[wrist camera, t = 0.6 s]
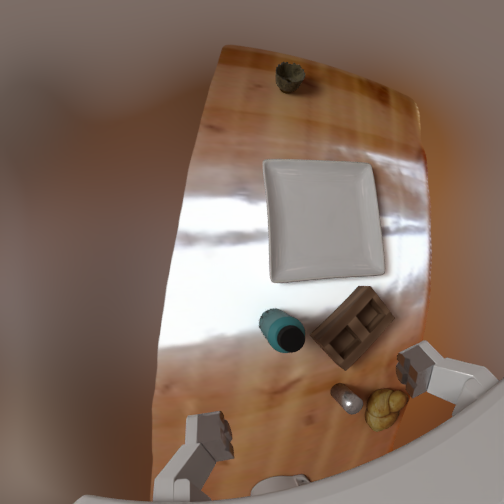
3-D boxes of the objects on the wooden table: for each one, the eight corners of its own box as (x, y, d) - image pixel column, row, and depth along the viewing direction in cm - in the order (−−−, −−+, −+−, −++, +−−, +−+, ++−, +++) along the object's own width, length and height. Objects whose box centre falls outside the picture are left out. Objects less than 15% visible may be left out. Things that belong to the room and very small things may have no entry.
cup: (299, 83, 67) (306, 65, 59) (298, 102, 66) (304, 84, 58) (273, 77, 67) (277, 59, 59) (270, 96, 66) (274, 77, 58)
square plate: (365, 167, 66) (372, 162, 62) (378, 275, 63) (386, 274, 59) (260, 164, 64) (262, 157, 60) (268, 283, 61) (270, 283, 57)
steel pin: (348, 389, 59) (366, 404, 49) (336, 400, 59) (352, 417, 49) (339, 380, 59) (356, 394, 49) (327, 391, 59) (342, 407, 49)
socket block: (382, 315, 62) (394, 318, 56) (336, 363, 60) (345, 370, 54) (358, 286, 62) (370, 286, 56) (309, 335, 60) (317, 340, 54)
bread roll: (384, 426, 59) (398, 438, 51) (354, 429, 58) (366, 442, 50) (397, 384, 60) (414, 394, 52) (367, 385, 60) (382, 395, 52)
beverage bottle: (263, 303, 60) (279, 312, 40) (292, 312, 60) (320, 326, 40) (253, 331, 59) (263, 354, 39) (281, 340, 59) (304, 366, 40)
